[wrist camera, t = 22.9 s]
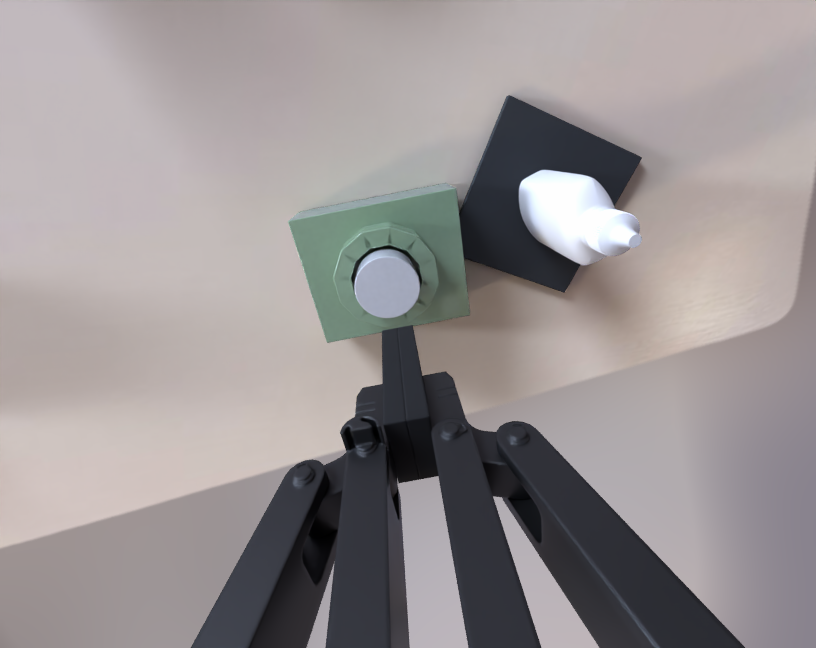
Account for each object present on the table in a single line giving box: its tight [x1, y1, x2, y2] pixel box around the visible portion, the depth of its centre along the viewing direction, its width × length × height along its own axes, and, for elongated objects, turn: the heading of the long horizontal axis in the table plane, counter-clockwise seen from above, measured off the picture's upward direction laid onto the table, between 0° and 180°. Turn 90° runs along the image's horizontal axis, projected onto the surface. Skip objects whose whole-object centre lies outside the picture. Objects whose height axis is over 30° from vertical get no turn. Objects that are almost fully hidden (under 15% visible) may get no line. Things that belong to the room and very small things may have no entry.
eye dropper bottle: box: [519, 170, 642, 265], centre depth 24 cm, size 4×6×12 cm
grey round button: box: [354, 249, 420, 318], centre depth 25 cm, size 4×4×2 cm
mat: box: [459, 96, 642, 292], centre depth 30 cm, size 12×12×1 cm
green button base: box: [288, 183, 470, 343], centre depth 28 cm, size 12×10×6 cm
